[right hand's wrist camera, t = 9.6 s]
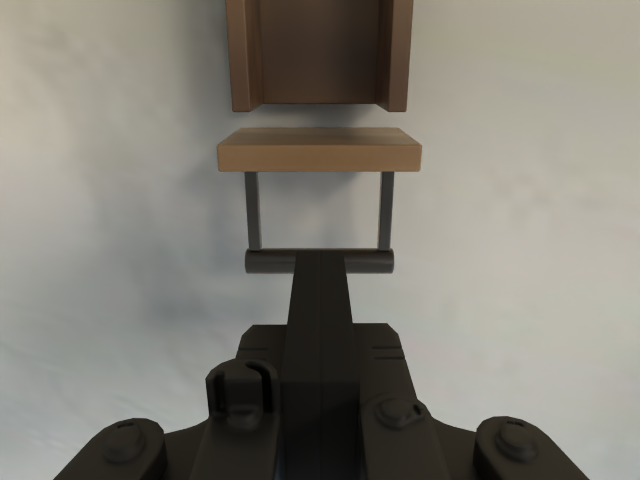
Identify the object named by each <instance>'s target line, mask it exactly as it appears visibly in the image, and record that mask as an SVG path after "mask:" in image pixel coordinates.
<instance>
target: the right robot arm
mask: <svg viewBox="0 0 640 480" xmlns="http://www.w3.org/2000/svg"><path fill="white" fill-rule="evenodd" d="M205 380H206V389H207V399H208V408H209V417H208V419H207V420H205V421H203V422H202V423H200V424H198V425H196V426H193V427H189V428H186V429H183V430H179V431H175V432H170V433H166V434H164V431H163V429H162V428H161V427H160V425H159V424H158V423H157V422H154V421H152V420H149V419H145V418H132V419H127V420H123V421H119V422H116V423H114V424H112V425H110V426H108V427H106V428H104V429H103V430H102V431H100V432H99V433H98V434H97V435H95V436H94V437H93V438H92V439H91V440H90V441H89V442H88V443H87V444H86V445H85V446H84V447H83V448H82V449H81V450H80V452H79V453H78V454H77V455H76V456H75V457H74V458H73V459H72V460H71V461H70V462H69V463H68V464H67V465H66V466H65V468H64V469H63V470H62V471H61V472H60V473H59V474H58V475H57V476H56V477H55V478H54V479H53V480H589V479H588V478H587V477H586V476H585V474H584V473H583V472H582V471H581V470H580V469H579V468H578V467H577V466H576V465H575V464H574V463H573V462H572V461H571V460H570V459H569V458H568V456H567V455H566V454H565V453H564V452H563V451H562V450H561V449H560V448H559V447H558V446H557V445H556V444H555V443H554V442H553V441H552V440H551V438H550V437H549V436H547V435H546V434H545V433H544V432H543V431H541V430H540V429H539V428H538V427H536V426H534V425H532V424H530V423H528V422H526V421H524V420H521V419H517V418H513V417H508V416H499V417H491V418H489V419H486V420H484V421H482V423H481V424H480V425H479V426H478V428H477V431H476V432H473V431H469V430H465V429H461V428H457V427H453V426H450V425H447V424H444V423H442V422H440V421H438V420H436V419H434V418H433V417H432V416H431V414H430V412H429V411H428V409H427V407H426V406H425V405H424V404H423V403H422V402H420V401H419V400H418V399H417V396H416V393H415V390H414V386H413V383H412V380H411V376H410V373H409V369H408V366H407V363H406V360H405V356H404V352H403V349H402V346H401V342H400V339H399V336H398V334H397V333H396V332H395V331H394V330H393V329H392V328H391V327H390V326H389V325H388V324H387V323H353V322H352V314H351V307H350V299H349V291H348V283H347V276H346V268H345V260H344V252H343V251H297V252H296V260H295V268H294V276H293V283H292V291H291V299H290V307H289V314H288V322H287V325H252V326H251V327H250V328H249V329H248V330H247V331H246V332H245V333H244V334H243V335H242V337H241V341H240V344H239V348H238V351H237V354H236V358H235V359H232V360H229V361H226V362H223V363H221V364H219V365H218V366H216V367H215V368H214V369H212V370H211V371H210V373H209V374H208V376H207V377H206V379H205Z"/></svg>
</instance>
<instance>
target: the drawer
mask: <svg viewBox="0 0 640 480" xmlns="http://www.w3.org/2000/svg"><path fill="white" fill-rule="evenodd" d="M225 5H226V20H227V35H228V50H229V65H230V80H231V96H232V110H233V112H250V111H252V110H254V109H255V108H257V107H259V106H260V105H262V104H377V105H378V106H380V107H381V108H383V109H385V110H386V111H388V112H406V107H407V91H408V75H409V60H410V44H411V29H412V13H413V0H225ZM421 154H422V145H421V144H419V143H418V142H417V141H415V140H414V139H413V138H411V137H410V136H409V135H407V134H406V133H405V132H403V131H402V130H401V129H399V128H240V129H239V130H237V131H236V132H234V133H233V134H232V135H230V136H229V137H228V138H226V139H225V140H224V141H222V142H221V143H219V144H218V145H217V158H218V170H219V171H220V172H245V189H246V206H247V222H248V239H249V248H248V249H247V250H246V253H245V270H246V273H248V274H294V268H295V260H296V252H297V251H343V252H344V260H345V268H346V274H391V273H393V270H394V253H393V249H391V248H390V239H391V222H392V205H393V187H394V172H418V171H420V167H421ZM258 172H381V179H380V200H379V221H378V242H377V247H378V248H261V247H262V241H261V221H260V201H259V180H258Z"/></svg>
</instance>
